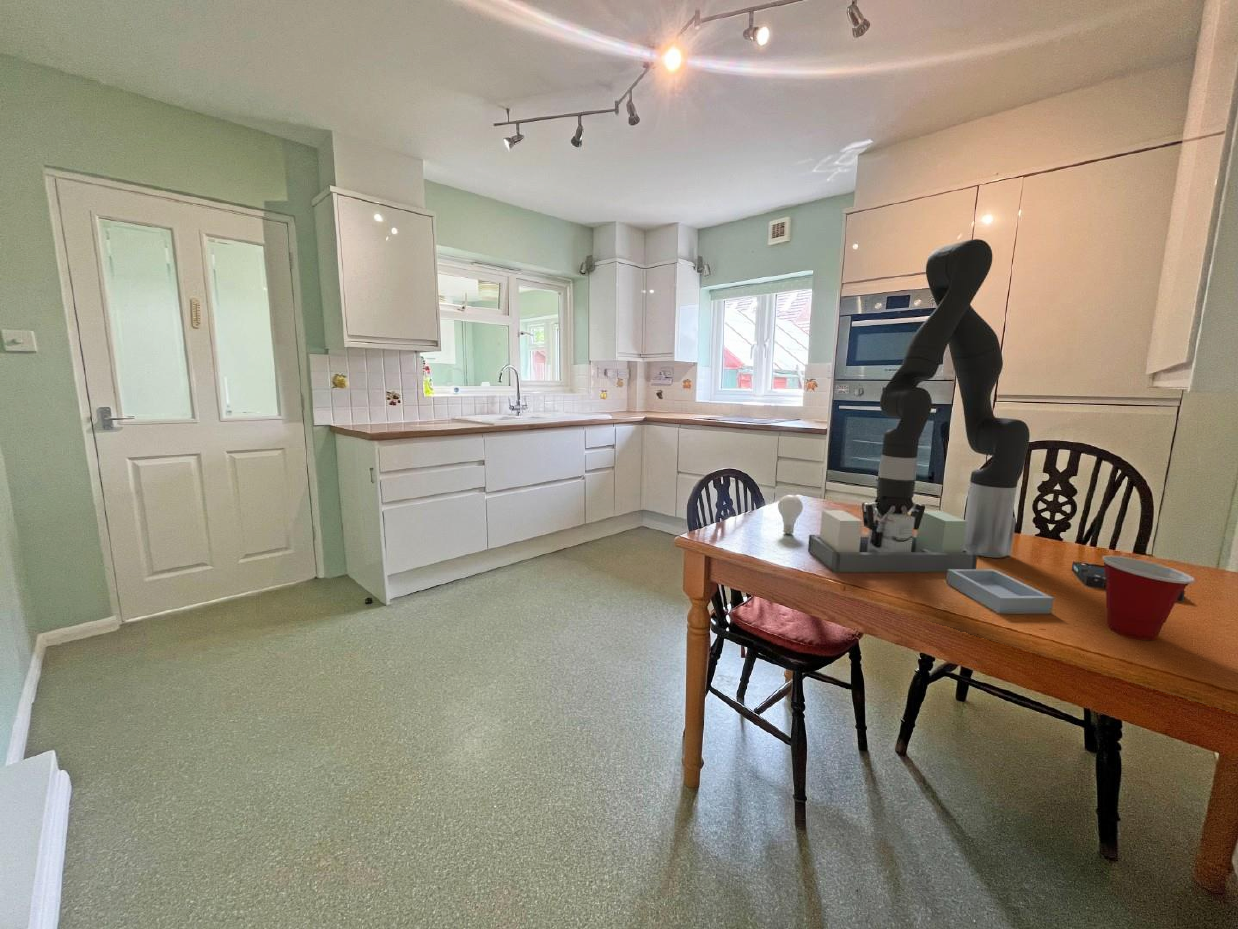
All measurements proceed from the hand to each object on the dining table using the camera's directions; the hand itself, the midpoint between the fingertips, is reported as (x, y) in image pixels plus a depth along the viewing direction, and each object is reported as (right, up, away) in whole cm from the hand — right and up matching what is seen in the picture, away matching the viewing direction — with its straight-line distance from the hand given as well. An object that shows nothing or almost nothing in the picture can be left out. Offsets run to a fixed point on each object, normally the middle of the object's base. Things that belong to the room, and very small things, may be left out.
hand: (888, 546), depth 117 cm
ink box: (0, -4, +1) cm, 4 cm away
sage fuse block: (+12, -4, +1) cm, 13 cm away
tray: (+11, -7, -19) cm, 23 cm away
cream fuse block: (-12, -3, 0) cm, 13 cm away
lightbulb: (-17, 0, +20) cm, 26 cm away
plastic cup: (+24, -10, -32) cm, 41 cm away
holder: (0, -4, +1) cm, 3 cm away
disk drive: (+43, -7, -11) cm, 45 cm away
